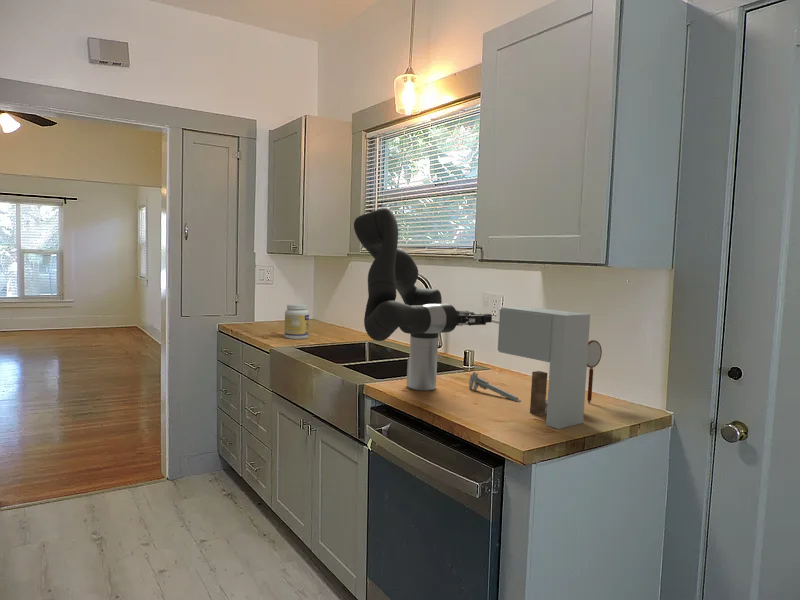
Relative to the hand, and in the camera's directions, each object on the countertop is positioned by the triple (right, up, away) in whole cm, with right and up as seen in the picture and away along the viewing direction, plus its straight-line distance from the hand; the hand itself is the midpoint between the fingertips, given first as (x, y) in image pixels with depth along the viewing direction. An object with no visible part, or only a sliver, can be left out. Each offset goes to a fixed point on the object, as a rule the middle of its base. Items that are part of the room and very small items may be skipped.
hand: (479, 316), depth 158 cm
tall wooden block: (+20, -28, +10) cm, 36 cm away
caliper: (+9, -27, +29) cm, 40 cm away
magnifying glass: (+38, -28, +23) cm, 52 cm away
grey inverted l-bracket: (+17, -28, +5) cm, 34 cm away
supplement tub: (-74, -15, +136) cm, 156 cm away
